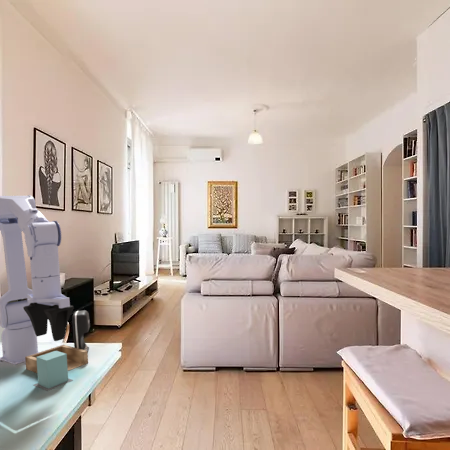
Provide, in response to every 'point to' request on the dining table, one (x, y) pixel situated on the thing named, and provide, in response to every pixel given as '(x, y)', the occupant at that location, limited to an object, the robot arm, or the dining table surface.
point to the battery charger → (80, 328)
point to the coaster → (51, 387)
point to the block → (52, 369)
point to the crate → (73, 354)
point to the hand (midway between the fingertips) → (50, 337)
